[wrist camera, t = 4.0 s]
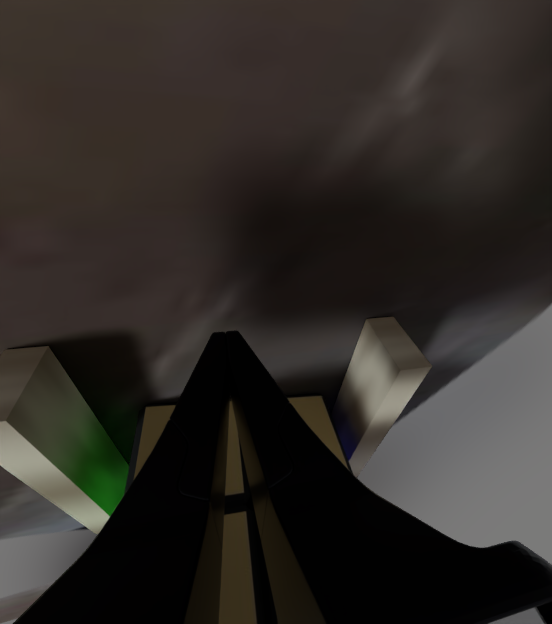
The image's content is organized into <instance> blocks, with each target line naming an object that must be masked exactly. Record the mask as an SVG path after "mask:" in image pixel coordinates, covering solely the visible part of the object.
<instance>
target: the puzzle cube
mask: <svg viewBox="0 0 552 624" xmlns="http://www.w3.org/2000/svg"><path fill="white" fill-rule="evenodd" d="M286 397H287V398H288V400H289V401H290V402H289V403H291V404H292V405H293V406H294V408H295V409H296V410H297V412H298V413H299V414H300V416H301V417H302V418H303V420H304V421H305V422H306V423H307V425H308V426H309V427H310V428H311V429H312V430H313V432H314V433H315V434H316V435H317V436H318V437H319V438H320V439H321V441H322V442H323V443H324V444H325V445H326V446H327V447H328V448H329V449H330V450H331V451H332V452H333V453H334V454H335V456H336V457H337V458H338V459H339V460H340V461H341V462H342V463H343V464H344V465H345V466H346V467H347V468H348V469H349V470H350V472H351V473H352V474H353V472H352V469H351V466H350V464H349V461H348V458H347V456H346V453H345V450H344V448H343V445H342V443H341V440H340V437H339V435H338V432H337V429H336V427H335V424H334V421H333V419H332V416H331V413H330V411H329V408H328V406H327V403H326V400H325V398H324V397H323V396H321V395H319V394H315V395H300V396H286ZM176 404H177V403H172V404H157V405H147V406H145V407H144V408H143V409H141V410H140V411H139V417H138V422H137V428H136V433H135V438H134V444H133V449H132V454H131V460H130V465H129V470H128V476H127V481H126V487H125V492H124V494H125V493H126V491H127V490H128V488H129V487H130V485H131V484H132V482H133V480H134V479H135V477H136V476H137V474H138V473H139V471H140V470H141V468H142V466H143V465H144V463H145V462H146V460H147V458H148V457H149V455H150V453H151V452H152V450H153V448H154V446H155V445H156V443H157V441H158V439H159V437H160V435H161V434H162V432H163V430H164V428H165V426H166V424H167V422H168V420H170V416H171V414H172V412H173V410H174V408H175V406H176ZM353 475H354V474H353ZM261 542H262V541H261V538H260V534H259V529H258V524H257V520H256V515H255V510H254V505H253V501H252V496H251V491H250V486H249V482H248V477H247V472H246V468H245V463H244V458H243V453H242V449H241V444H240V439H239V434H238V430H237V425H236V420H235V416H234V411H233V406H232V401H231V400H230V408H229V428H228V448H227V468H226V488H225V508H224V528H223V548H222V569H221V589H220V609H219V624H278V619H277V614H276V610H275V605H274V600H273V595H272V591H271V586H270V581H269V576H268V572H267V567H266V562H265V558H264V553H263V548H262V543H261Z"/></svg>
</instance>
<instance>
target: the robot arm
mask: <svg viewBox="0 0 552 624" xmlns="http://www.w3.org/2000/svg"><path fill="white" fill-rule="evenodd" d="M229 386H230V388H229ZM230 396H231V401H232V406H233V411H234V416H235V420H236V425H237V430H238V434H239V439H240V444H241V449H242V453H243V458H244V463H245V468H246V472H247V477H248V482H249V486H250V491H251V496H252V501H253V505H254V510H255V515H256V520H257V524H258V529H259V534H260V538H261V541H262V542H261V543H262V548H263V553H264V558H265V562H266V567H267V572H268V576H269V581H270V586H271V591H272V595H273V600H274V605H275V610H276V614H277V619H278V624H552V565H551V564H550V563H548V562H547V561H546V560H545V559H543V558H542V557H540V556H539V555H537V554H536V553H534V552H533V551H532V550H530V549H529V548H527V547H526V546H524V545H523V544H521V543H520V542H518V541H508V542H504V543H501V544H497V545H494V546H490V547H486V548H478V547H472V546H468V545H465V544H463V543H460V542H457V541H456V540H453V539H452V538H450V537H448V536H446V535H444V534H442V533H441V532H439V531H438V530H436V529H434V528H433V527H431V526H429V525H428V524H426V523H424V522H422V521H421V520H419V519H417V518H416V517H414V516H412V515H411V514H409V513H407V512H406V511H404V510H402V509H401V508H399V507H397V506H395V505H393V504H392V503H390V502H389V501H387V500H385V499H384V498H382V497H380V496H378V495H377V494H375V493H374V492H373V491H371V490H370V489H369V488H367V487H366V486H365V485H364V484H363V483H362V482H360V481H359V480H358V479H357V478H356V477H355V476H354V475H353V474H352V473H351V472H350V470H349V469H348V468H347V467H346V466H345V465H344V464H343V463H342V462H341V461H340V460H339V459H338V458H337V457H336V456H335V454H334V453H333V452H332V451H331V450H330V449H329V448H328V447H327V446H326V445H325V444H324V443H323V442H322V441H321V439H320V438H319V437H318V436H317V435H316V434H315V433H314V432H313V430H312V429H311V428H310V427H309V426H308V425H307V423H306V422H305V421H304V420H303V418H302V417H301V416H300V414H299V413H298V412H297V410H296V409H295V408H294V406H293V405H292V404H291V403H289V402H290V401H289V400H288V398H287V397H286V396H285V394H284V393H283V391H282V390H281V389H280V387H279V386H278V385H277V383H276V382H275V381H274V379H273V378H272V376H271V375H270V374H269V372H268V371H267V370H266V368H265V367H264V365H263V364H262V363H261V361H260V360H259V359H258V357H257V356H256V355H255V353H254V352H253V350H252V349H251V348H250V346H249V345H248V344H247V342H246V341H245V339H244V338H243V337H242V335H241V334H240V333H239V332H238V331H227V332H226V334H225V332H214V333H212V335H211V337H210V339H209V341H208V343H207V345H206V347H205V349H204V351H203V353H202V355H201V357H200V359H199V361H198V363H197V365H196V366H195V368H194V370H193V372H192V374H191V376H190V378H189V380H188V382H187V384H186V386H185V388H184V390H183V392H182V394H181V396H180V398H179V400H178V402H177V404H176V406H175V408H174V410H173V412H172V414H171V416H170V420H168V422H167V424H166V426H165V428H164V430H163V432H162V434H161V435H160V437H159V439H158V441H157V443H156V445H155V446H154V448H153V450H152V452H151V453H150V455H149V457H148V458H147V460H146V462H145V463H144V465H143V466H142V468H141V470H140V471H139V473H138V474H137V476H136V477H135V479H134V480H133V482H132V484H131V485H130V487H129V488H128V490H127V491H126V493H125V494H124V496H123V497H122V499H121V500H120V502H119V504H118V505H117V507H116V508H115V510H114V511H113V513H112V514H111V516H110V517H109V519H108V520H107V522H106V523H105V525H104V526H103V528H102V529H101V531H100V532H99V534H98V535H97V536H96V538H95V539H94V540H93V542H92V543H91V544H90V546H89V547H88V548H87V549H86V551H85V552H84V553H83V554H82V555H81V556H80V557H79V558H78V559H77V561H75V562H74V564H72V566H71V567H69V569H67V570H66V571H65V572H64V573H63V574H62V575H61V576H60V577H59V578H58V579H57V580H56V581H55V582H54V583H53V584H52V585H51V586H50V587H49V588H48V589H47V590H46V591H45V592H44V593H43V594H42V595H41V596H40V597H39V598H38V599H37V600H36V601H35V602H34V603H33V604H32V605H31V606H30V607H29V608H28V609H27V610H26V611H25V612H24V613H23V614H22V615H21V616H20V617H19V618H18V619H17V620H16V621H15V622H14V623H13V624H219V609H220V589H221V569H222V548H223V528H224V508H225V488H226V468H227V448H228V428H229V408H230Z"/></svg>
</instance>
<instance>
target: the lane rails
mask: <svg viewBox="0 0 552 624" xmlns="http://www.w3.org/2000/svg"><path fill="white" fill-rule="evenodd" d="M431 367H432V365H431V364H430V363H429V362H428V360H427V359H426V358H425V356H424V355H423V354H422V353H421V351H420V350H419V349H418V348H417V346H416V345H415V344H414V342H413V341H412V340H411V339H410V337H409V336H408V335H407V333H406V332H405V331H404V330H403V328H402V327H401V326H400V325H399V323H398V322H397V321H396V319H395V318H394V317H384V318H372V319H366V321H365V324H364V327H363V329H362V332H361V335H360V337H359V340H358V343H357V345H356V348H355V351H354V354H353V356H352V359H351V362H350V364H349V367H348V370H347V372H346V375H345V378H344V380H343V383H342V386H341V389H340V391H339V394H338V397H337V399H336V402H335V405H334V407H333V410H332V413H331V416H332V419H333V421H334V424H335V427H336V429H337V432H338V435H339V437H340V440H341V443H342V445H343V448H344V450H345V453H346V456H347V458H348V461H349V464H350V466H351V469H352V472H353V474H354V476H355V477H356V478H357V477H358V475H359V474H360V472H361V471H362V469H363V468H364V467H365V465H366V463H367V462H368V461H369V459H370V458H371V456H372V454H373V453H374V452H375V450H376V449H377V447H378V446H379V444H380V443H381V441H382V440H383V438H384V437H385V436H386V434H387V433H388V431H389V430H390V428H391V427H392V425H393V424H394V422H395V421H396V419H397V418H398V416H399V415H400V413H401V412H402V410H403V409H404V407H405V406H406V404H407V403H408V402H409V400H410V399H411V397H412V396H413V394H414V393H415V391H416V390H417V388H418V387H419V385H420V384H421V382H422V381H423V379H424V378H425V376H426V375H427V373H428V372H429V370H430V369H431ZM0 466H2V467H3V468H4V469H6V470H7V471H9V472H10V473H11V474H13V475H14V476H16V477H17V478H18V479H20V480H21V481H23V482H24V483H25V484H27V485H28V486H30V487H31V488H32V489H34V490H35V491H37V492H38V493H39V494H41V495H42V496H44V497H45V498H46V499H48V500H49V501H51V502H52V503H53V504H55V505H56V506H58V507H59V508H60V509H62V510H63V511H65V512H66V513H67V514H69V515H70V516H72V517H73V518H74V519H76V520H77V521H79V522H80V523H81V524H83V525H84V526H86V527H87V528H88V529H90V530H91V531H93V532H94V533H95V534H97V533H99V532H100V531H101V529H102V528H103V526H104V525H105V523H106V522H107V520H108V519H109V517H110V516H111V514H112V513H113V511H114V510H115V508H116V507H117V505H118V504H119V502H120V500H121V499H122V497H123V496H124V492H125V487H126V481H127V476H128V470H129V465H128V464H127V462H126V461H125V460H124V458H123V457H122V455H121V454H120V452H119V451H118V449H117V448H116V446H115V445H114V443H113V442H112V440H111V439H110V437H109V436H108V434H107V433H106V431H105V430H104V428H103V427H102V425H101V424H100V422H99V421H98V419H97V418H96V416H95V415H94V413H93V412H92V410H91V409H90V407H89V406H88V404H87V403H86V401H85V400H84V398H83V397H82V395H81V394H80V392H79V391H78V389H77V388H76V386H75V385H74V383H73V382H72V380H71V379H70V377H69V376H68V374H67V373H66V372H65V370H64V369H63V367H62V366H61V364H60V363H59V361H58V360H57V358H56V357H55V355H54V354H53V352H52V351H51V349H50V348H49V346H43V347H32V348H20V349H8V350H4V352H3V353H2V354H1V356H0Z"/></svg>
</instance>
